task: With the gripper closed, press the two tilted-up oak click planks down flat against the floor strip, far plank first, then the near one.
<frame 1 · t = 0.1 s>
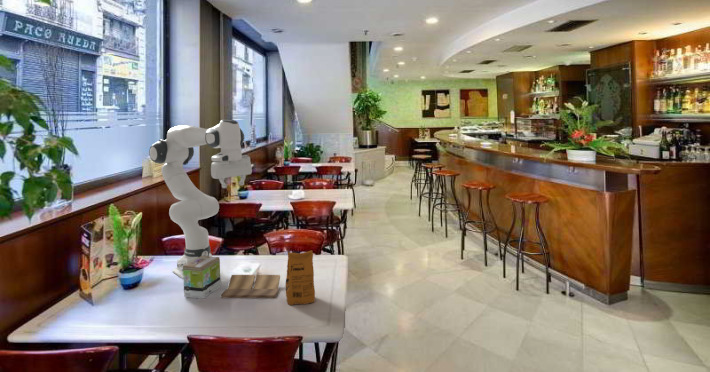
hand: (233, 186, 191), 48 cm above the table, fingers open, 8 cm apart
tea box: (203, 292, 193), on the table
plank far: (267, 282, 196), point 3 cm above the table, hinge at 32.0°
plank near: (241, 282, 196), point 3 cm above the table, hinge at 32.0°
floor strip: (252, 290, 194), on the table
coffee package: (300, 300, 183), on the table
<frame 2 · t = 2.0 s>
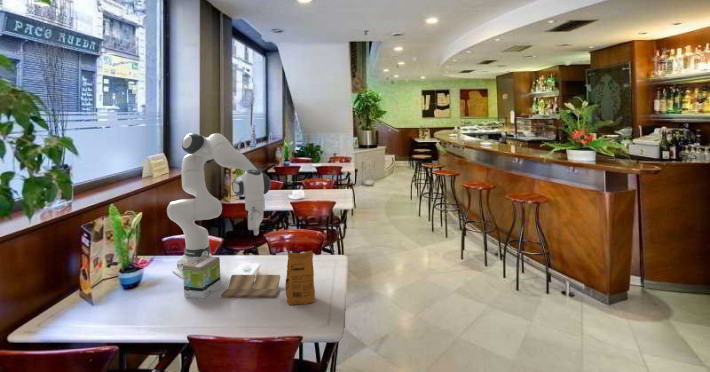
hand: (256, 234, 195), 25 cm above the table, fingers closed
nothing on the table moved.
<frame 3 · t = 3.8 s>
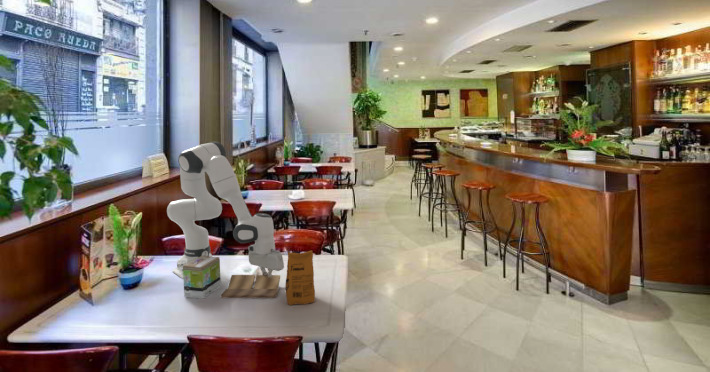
hand: (267, 276, 198), 5 cm above the table, fingers closed
plank far: (267, 282, 196), point 3 cm above the table, hinge at 29.7°, touching gripper
everything else where it was.
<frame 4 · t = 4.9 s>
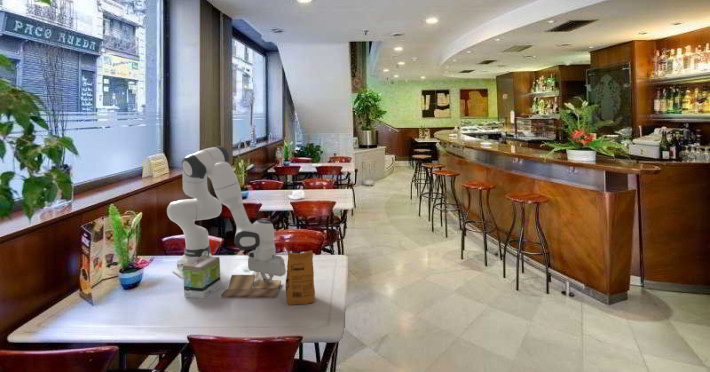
hand: (267, 281, 199), 2 cm above the table, fingers closed on plank far
plank far: (267, 285, 197), point 1 cm above the table, hinge at 5.4°, touching gripper
everything else where it was.
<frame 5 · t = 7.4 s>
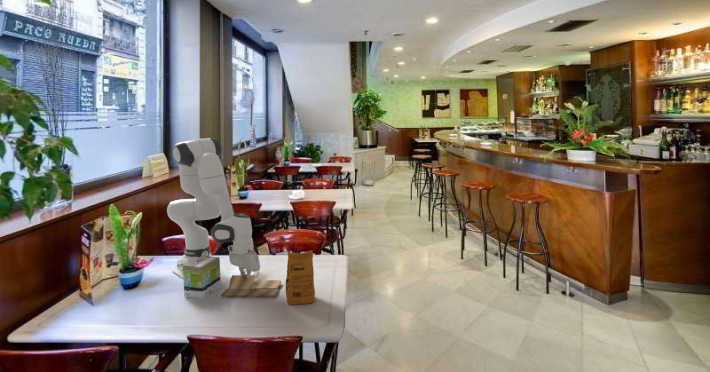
hand: (245, 276, 198), 5 cm above the table, fingers open, 3 cm apart
plank far: (267, 285, 197), point 1 cm above the table, hinge at 5.4°
plank near: (241, 282, 197), point 2 cm above the table, hinge at 29.1°, touching gripper
everything else where it was.
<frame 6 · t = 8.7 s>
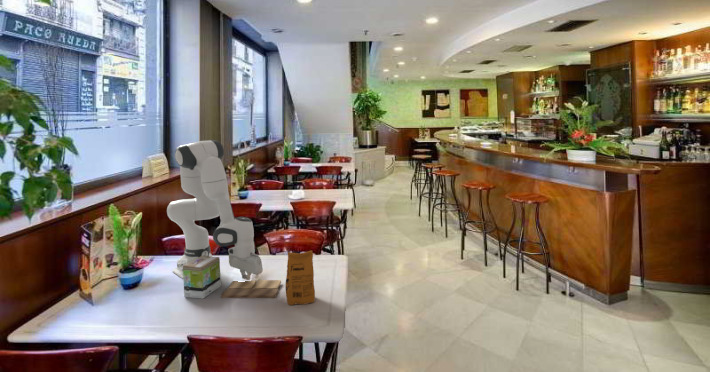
hand: (246, 278, 200), 3 cm above the table, fingers closed
plank near: (242, 285, 198), point 1 cm above the table, hinge at 4.6°
everything else where it was.
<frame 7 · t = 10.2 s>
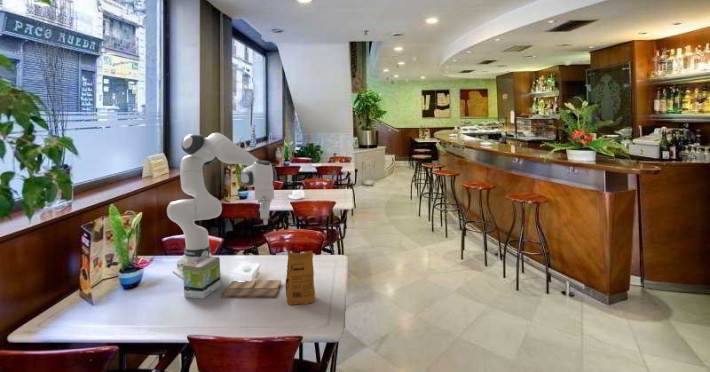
hand: (265, 223, 199), 29 cm above the table, fingers closed
nothing on the table moved.
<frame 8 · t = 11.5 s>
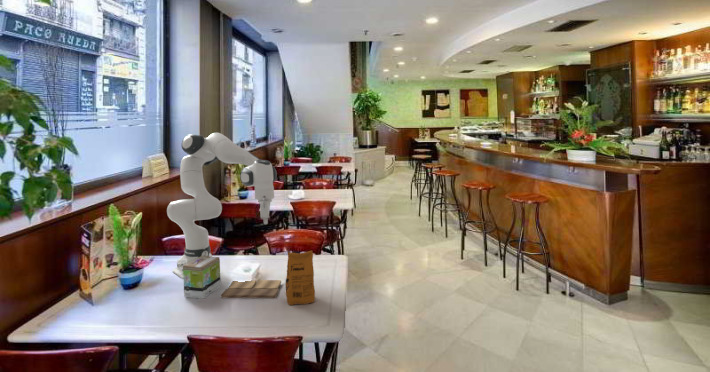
hand: (265, 223, 200), 29 cm above the table, fingers closed
nothing on the table moved.
at the end: plank far at +5° (first picture: +32°); plank near at +5° (first picture: +32°) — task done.
